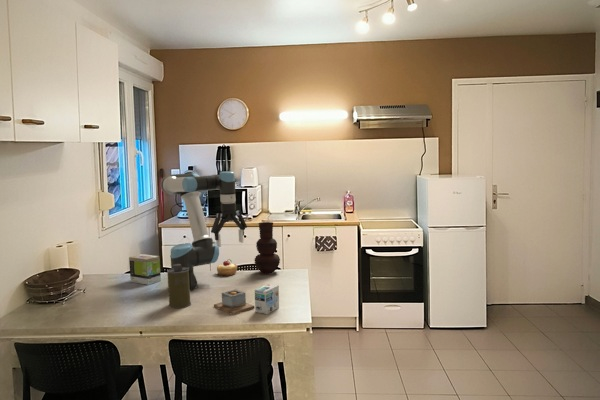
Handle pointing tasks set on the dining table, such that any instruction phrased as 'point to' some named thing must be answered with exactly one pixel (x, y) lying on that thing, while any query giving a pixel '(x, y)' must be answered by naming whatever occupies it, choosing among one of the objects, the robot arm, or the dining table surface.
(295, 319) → the dining table surface
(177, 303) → the canister
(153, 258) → the tea box
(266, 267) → the vase
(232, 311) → the wooden base with peg
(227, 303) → the grey hollow block
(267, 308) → the light bulb box
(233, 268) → the pastry
